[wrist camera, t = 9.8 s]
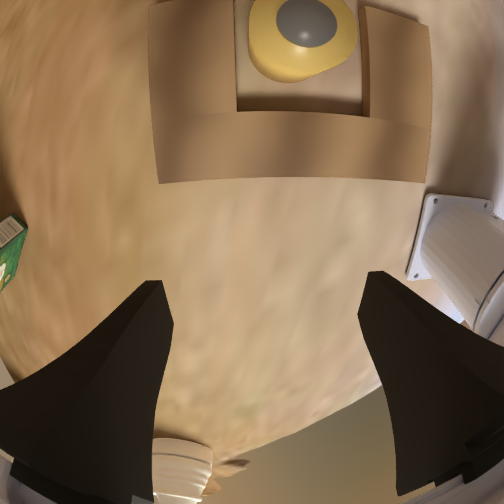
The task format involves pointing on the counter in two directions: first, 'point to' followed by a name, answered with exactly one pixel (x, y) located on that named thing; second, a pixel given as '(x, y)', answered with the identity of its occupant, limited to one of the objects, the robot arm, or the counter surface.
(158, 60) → the brown u-shaped board
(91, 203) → the counter surface
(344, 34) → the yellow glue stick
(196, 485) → the honey pot
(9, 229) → the coffee box
